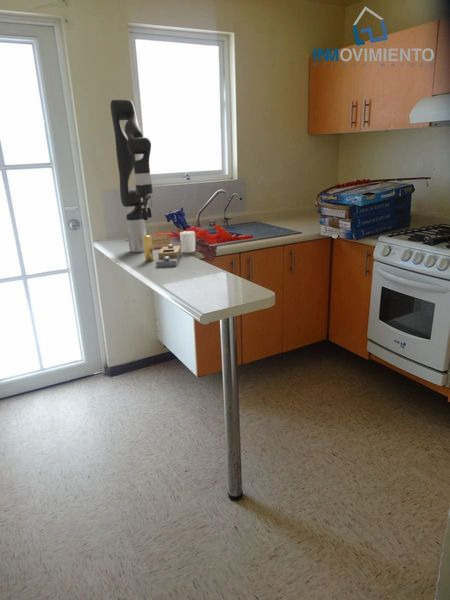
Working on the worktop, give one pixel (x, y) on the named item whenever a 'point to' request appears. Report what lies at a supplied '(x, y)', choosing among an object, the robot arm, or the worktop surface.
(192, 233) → the white cup
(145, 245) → the brass pin
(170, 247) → the tan and grey block
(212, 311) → the worktop surface
